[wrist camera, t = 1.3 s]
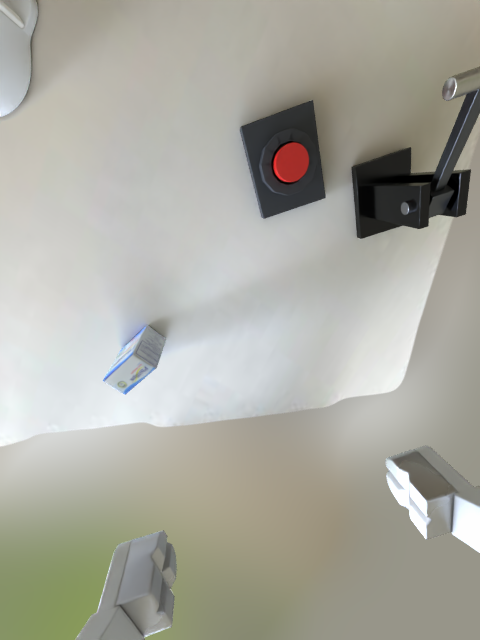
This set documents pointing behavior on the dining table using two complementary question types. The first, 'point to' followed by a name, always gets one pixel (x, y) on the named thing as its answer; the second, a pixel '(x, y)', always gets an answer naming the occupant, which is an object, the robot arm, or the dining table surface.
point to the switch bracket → (400, 194)
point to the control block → (262, 148)
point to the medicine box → (136, 360)
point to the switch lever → (455, 135)
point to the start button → (291, 162)
